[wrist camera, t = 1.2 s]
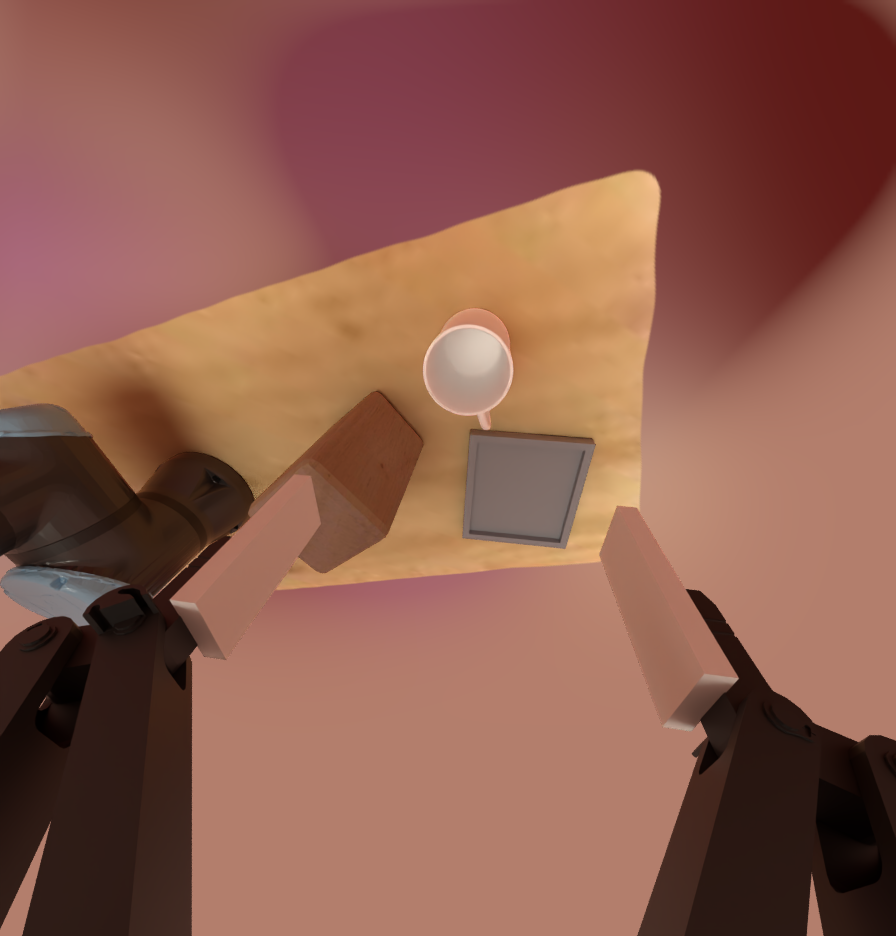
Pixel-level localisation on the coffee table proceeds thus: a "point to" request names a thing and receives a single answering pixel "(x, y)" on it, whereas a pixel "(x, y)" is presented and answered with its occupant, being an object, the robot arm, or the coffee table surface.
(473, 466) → the tray
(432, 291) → the coffee table surface
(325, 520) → the wooden block
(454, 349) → the mug
